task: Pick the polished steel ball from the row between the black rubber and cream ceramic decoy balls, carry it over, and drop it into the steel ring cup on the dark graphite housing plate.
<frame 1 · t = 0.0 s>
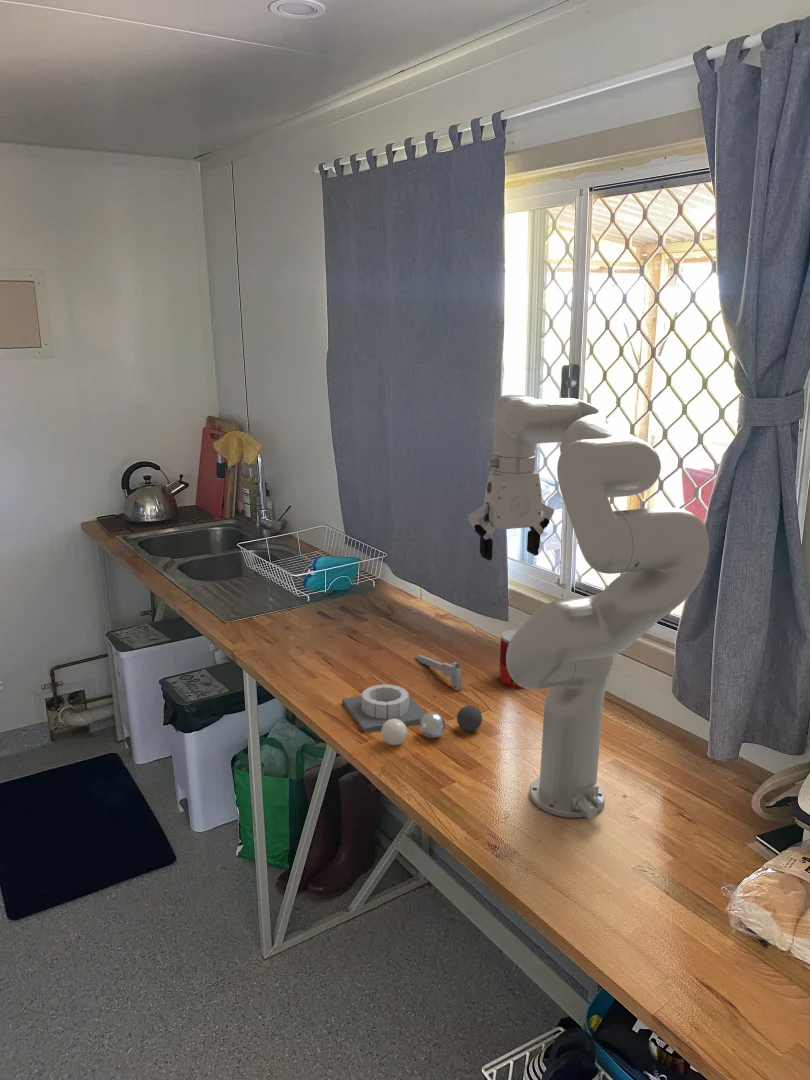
hand: (509, 555, 158), 37 cm above the table, tool pointing down, fingers open, 9 cm apart
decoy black: (469, 718, 169), point 2 cm above the table
housing: (385, 712, 177), on the table
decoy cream: (394, 731, 163), point 2 cm above the table
caliper: (437, 675, 196), on the table
canned food: (516, 682, 192), on the table
steel ball: (432, 725, 166), point 2 cm above the table
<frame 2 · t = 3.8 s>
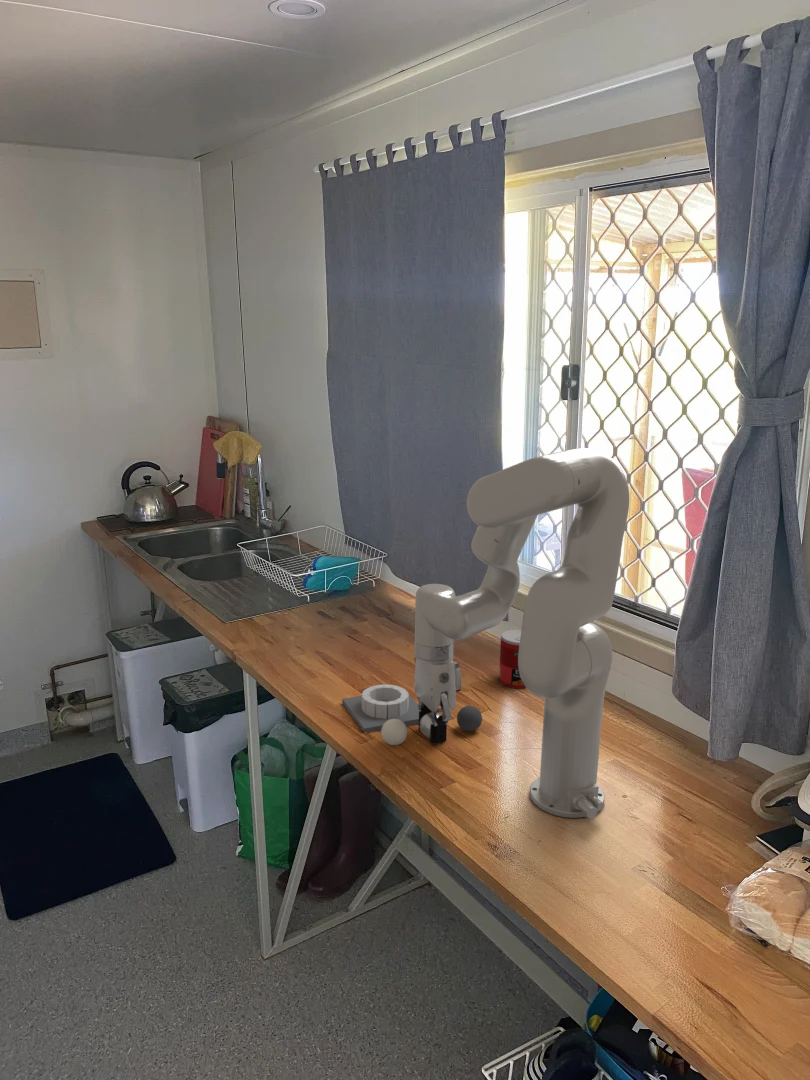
hand: (432, 734, 167), 0 cm above the table, tool pointing down, fingers closed on steel ball, 5 cm apart
steel ball: (432, 725, 166), point 2 cm above the table, touching gripper
everything else where it was.
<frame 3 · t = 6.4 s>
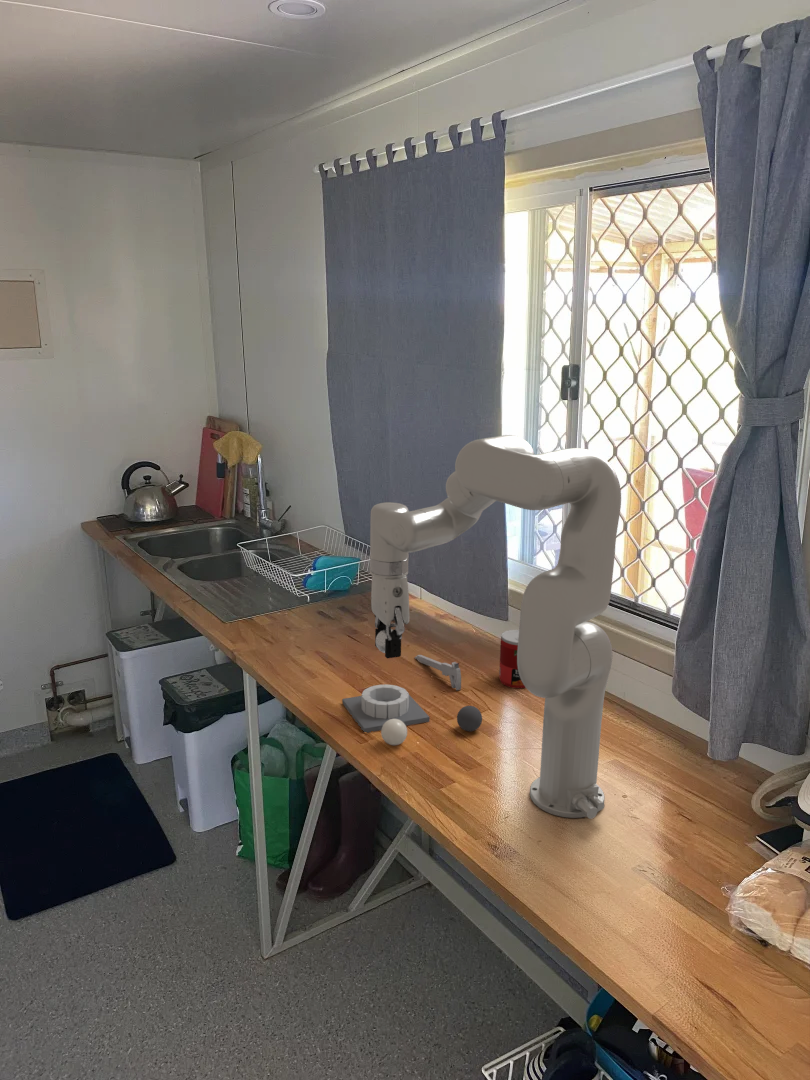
hand: (387, 650, 173), 14 cm above the table, tool pointing down, fingers closed on steel ball, 5 cm apart
steel ball: (388, 641, 172), point 16 cm above the table, touching gripper
everything else where it was.
when the fingers open (5 cm above the table, at t = 8.9 s): steel ball drops 3 cm, resting on housing.
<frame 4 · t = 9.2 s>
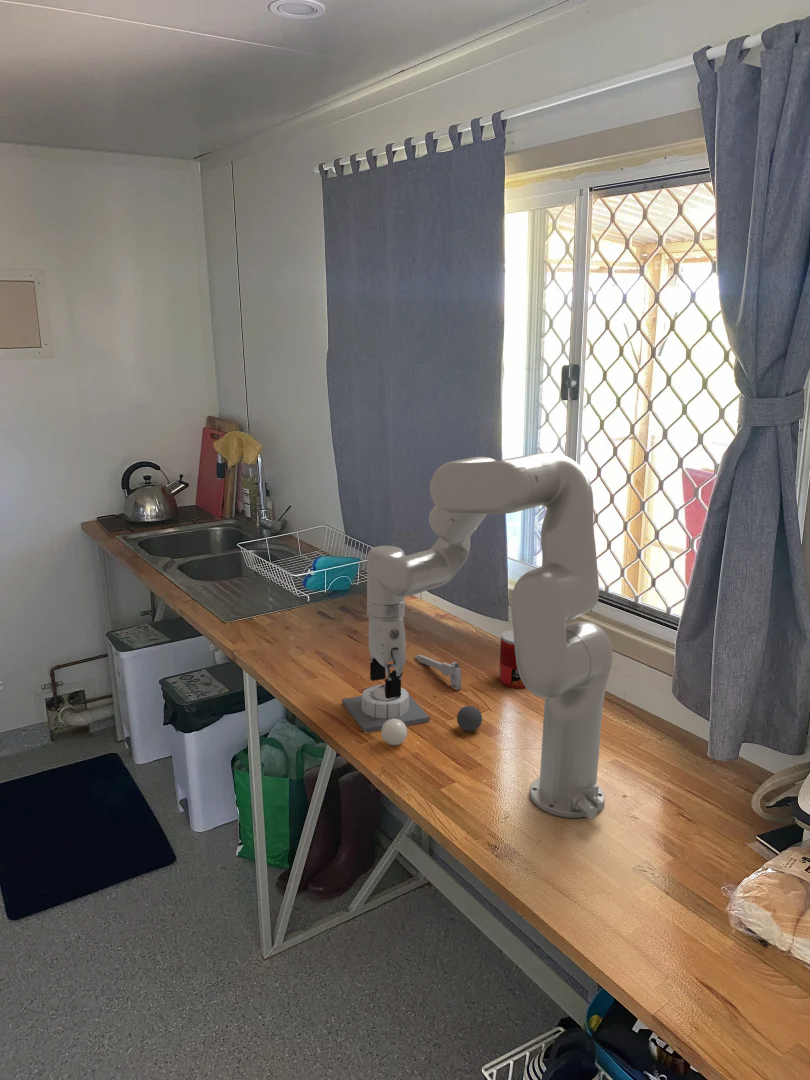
hand: (385, 687, 175), 6 cm above the table, tool pointing down, fingers open, 8 cm apart
steel ball: (385, 696, 176), point 3 cm above the table, touching housing
everything else where it was.
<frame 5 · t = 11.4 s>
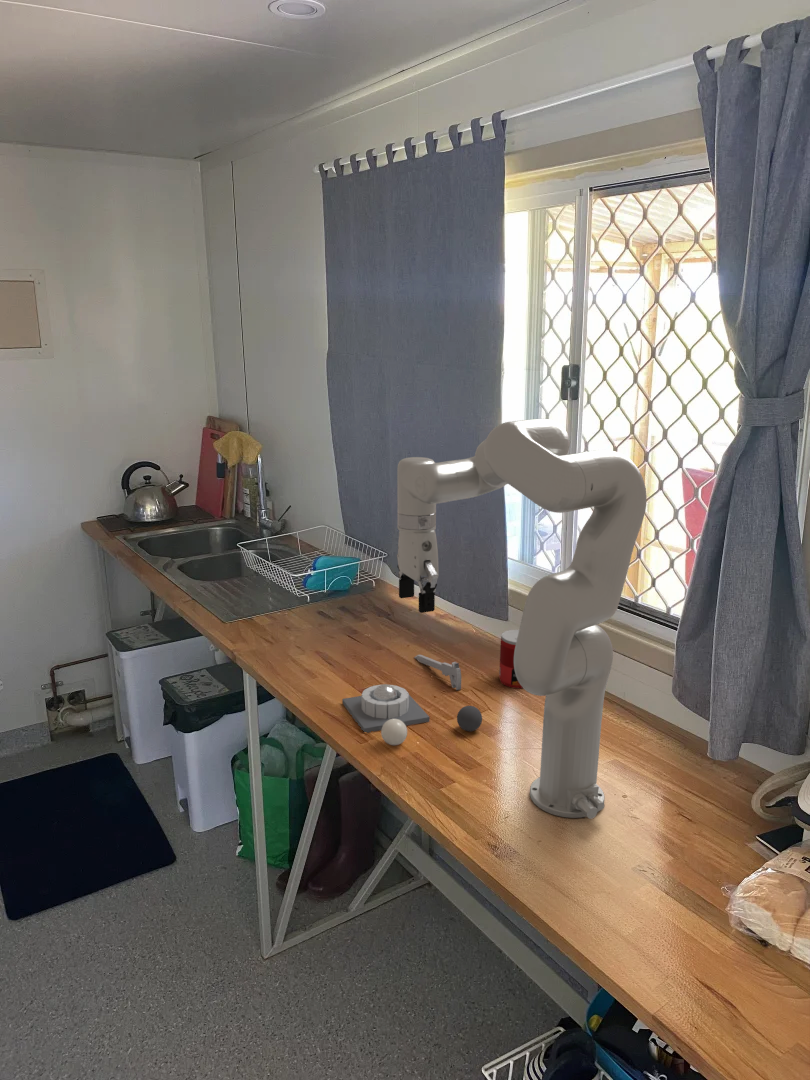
hand: (416, 604, 171), 24 cm above the table, tool pointing down, fingers open, 9 cm apart
nothing on the table moved.
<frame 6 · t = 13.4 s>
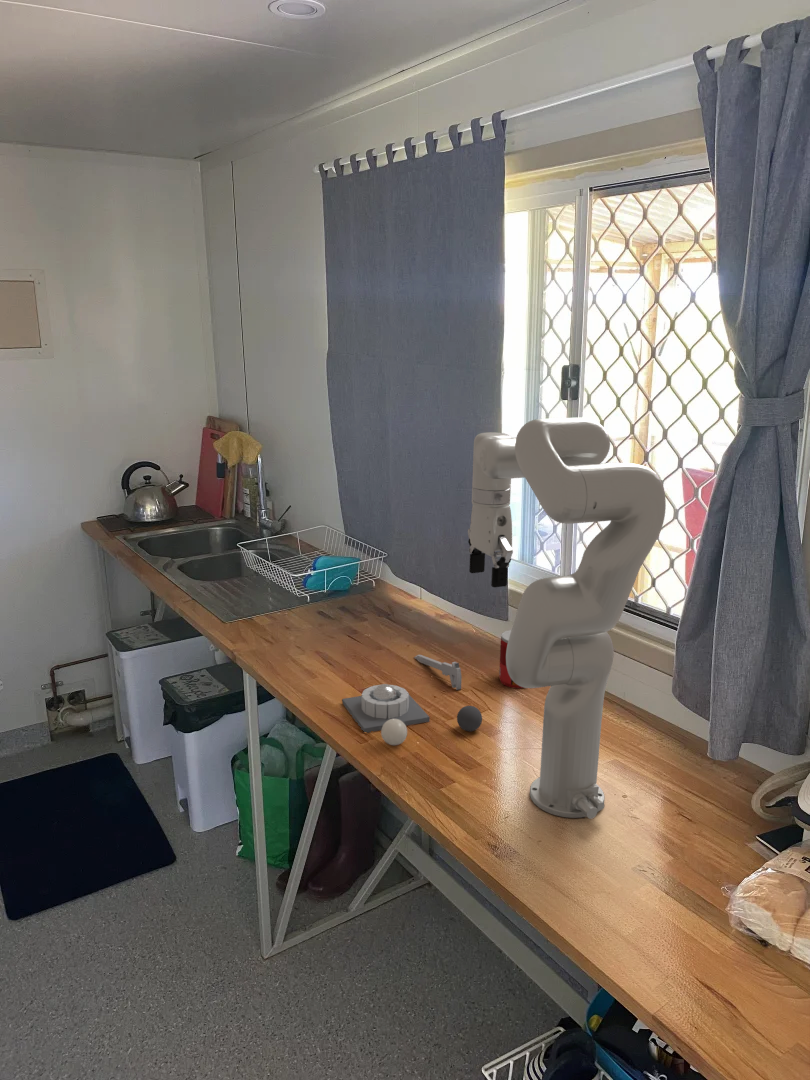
hand: (487, 579, 172), 28 cm above the table, tool pointing down, fingers open, 9 cm apart
nothing on the table moved.
at the end: steel ball 0.2 cm off-centre on the housing, point 3.5 cm above the housing's base; the gripper is holding nothing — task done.
